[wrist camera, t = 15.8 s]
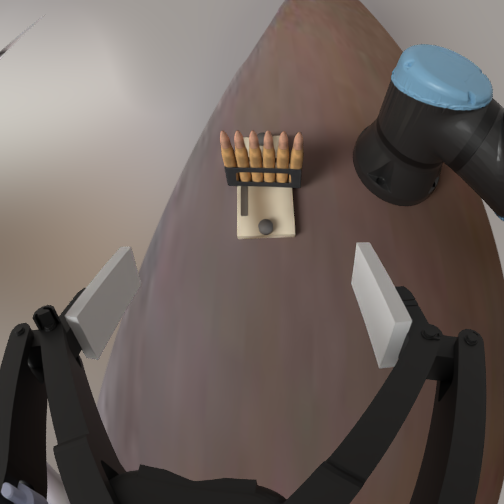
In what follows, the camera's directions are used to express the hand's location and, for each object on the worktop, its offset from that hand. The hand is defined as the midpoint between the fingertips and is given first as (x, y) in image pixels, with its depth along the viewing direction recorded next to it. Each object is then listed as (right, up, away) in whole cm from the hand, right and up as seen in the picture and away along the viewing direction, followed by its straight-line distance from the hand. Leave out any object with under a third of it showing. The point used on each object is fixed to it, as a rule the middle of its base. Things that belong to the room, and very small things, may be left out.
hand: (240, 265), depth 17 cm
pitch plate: (+3, +11, +28) cm, 30 cm away
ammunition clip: (+2, +11, +27) cm, 29 cm away
